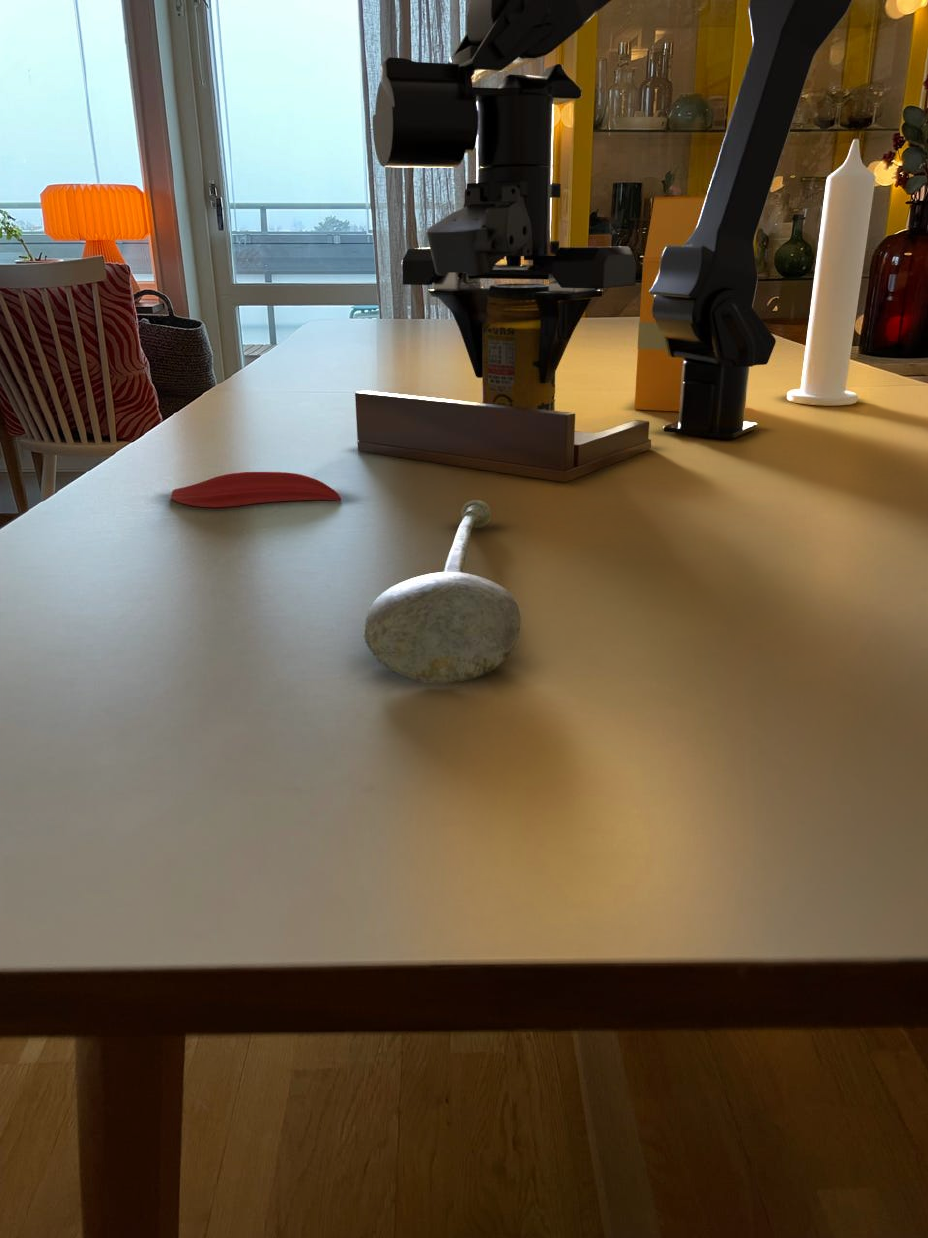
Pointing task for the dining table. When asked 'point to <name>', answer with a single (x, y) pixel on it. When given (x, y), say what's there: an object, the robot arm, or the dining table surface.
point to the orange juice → (654, 364)
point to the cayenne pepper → (253, 489)
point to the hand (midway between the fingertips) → (512, 379)
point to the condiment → (514, 349)
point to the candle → (837, 284)
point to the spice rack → (491, 436)
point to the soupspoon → (445, 618)
